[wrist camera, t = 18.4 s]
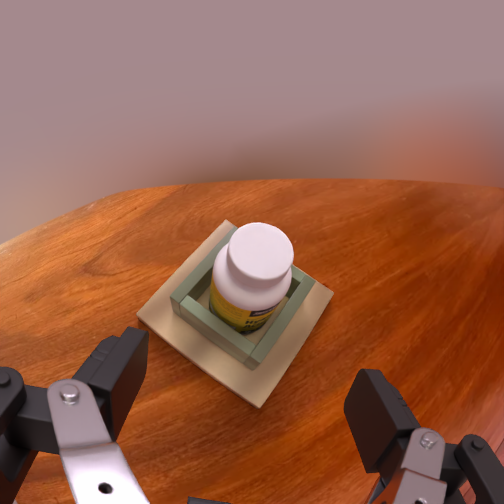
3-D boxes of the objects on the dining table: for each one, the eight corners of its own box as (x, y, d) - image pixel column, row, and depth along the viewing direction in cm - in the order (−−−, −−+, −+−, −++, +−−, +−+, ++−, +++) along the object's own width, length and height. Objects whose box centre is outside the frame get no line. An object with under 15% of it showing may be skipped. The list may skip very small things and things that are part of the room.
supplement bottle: (240, 349, 25) (263, 310, 16) (195, 304, 26) (195, 244, 18) (282, 308, 27) (321, 252, 19) (239, 268, 29) (258, 199, 20)
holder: (138, 318, 26) (127, 298, 22) (224, 226, 32) (229, 196, 28) (257, 408, 23) (269, 407, 19) (329, 297, 30) (349, 276, 26)
